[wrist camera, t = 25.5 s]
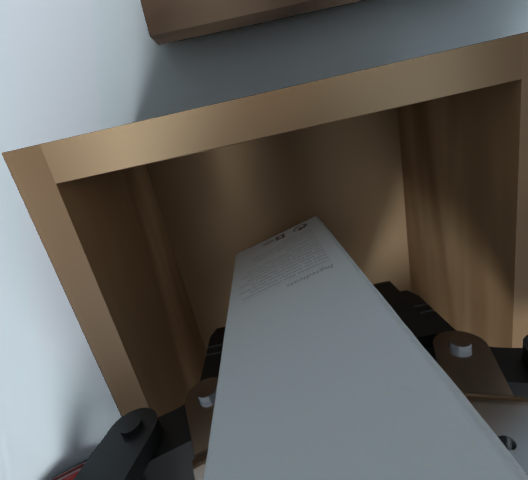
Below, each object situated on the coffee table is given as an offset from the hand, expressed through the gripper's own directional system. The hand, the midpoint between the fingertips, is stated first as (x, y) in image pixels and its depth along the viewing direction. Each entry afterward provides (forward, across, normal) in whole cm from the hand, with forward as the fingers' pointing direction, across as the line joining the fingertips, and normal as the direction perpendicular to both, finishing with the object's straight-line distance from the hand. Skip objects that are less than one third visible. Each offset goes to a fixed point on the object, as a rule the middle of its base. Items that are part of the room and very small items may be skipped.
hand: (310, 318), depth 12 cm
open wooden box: (+6, 0, 0) cm, 6 cm away
